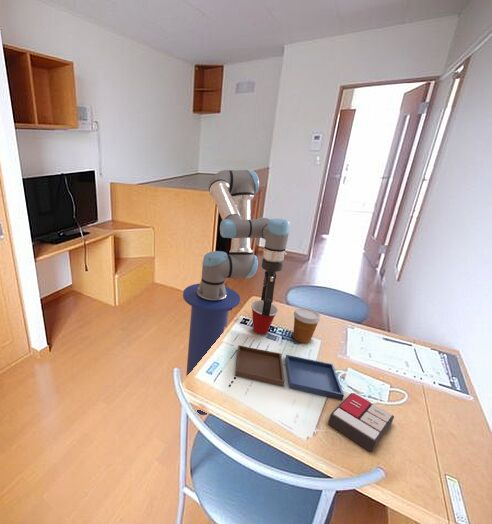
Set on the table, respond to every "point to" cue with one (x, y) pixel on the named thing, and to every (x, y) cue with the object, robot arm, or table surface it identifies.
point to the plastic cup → (262, 317)
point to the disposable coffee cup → (305, 324)
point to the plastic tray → (313, 377)
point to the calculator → (361, 421)
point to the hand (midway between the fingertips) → (264, 307)
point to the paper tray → (260, 365)
